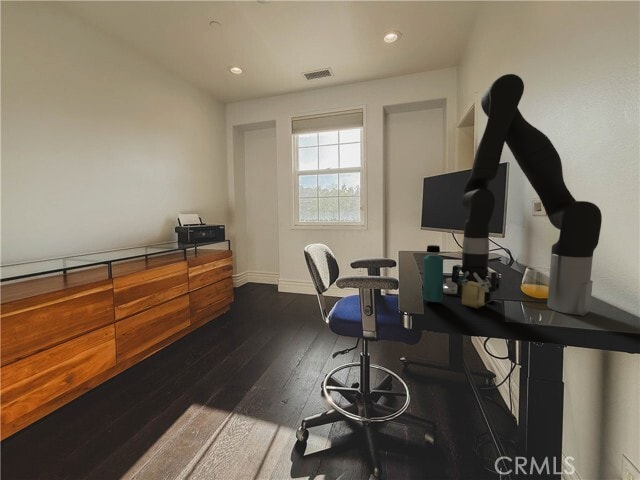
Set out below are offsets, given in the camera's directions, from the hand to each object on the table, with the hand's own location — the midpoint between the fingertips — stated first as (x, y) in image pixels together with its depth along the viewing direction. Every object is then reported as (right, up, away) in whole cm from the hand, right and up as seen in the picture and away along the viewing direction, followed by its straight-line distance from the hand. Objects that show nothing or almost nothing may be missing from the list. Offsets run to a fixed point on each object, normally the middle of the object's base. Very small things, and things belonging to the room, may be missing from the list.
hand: (473, 299), depth 90 cm
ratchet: (+2, -1, +10) cm, 10 cm away
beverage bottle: (-12, -2, +3) cm, 13 cm away
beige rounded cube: (0, -2, 0) cm, 2 cm away
